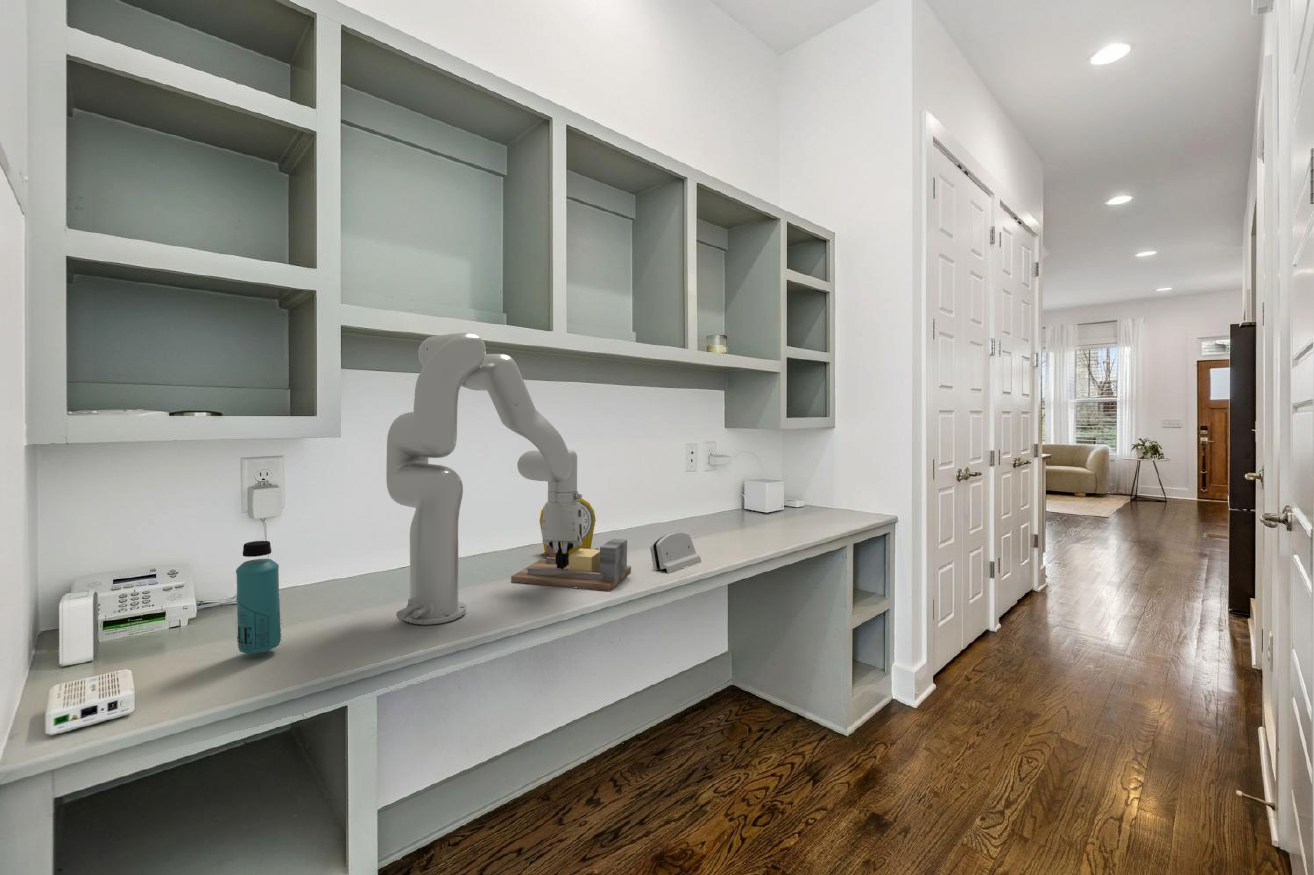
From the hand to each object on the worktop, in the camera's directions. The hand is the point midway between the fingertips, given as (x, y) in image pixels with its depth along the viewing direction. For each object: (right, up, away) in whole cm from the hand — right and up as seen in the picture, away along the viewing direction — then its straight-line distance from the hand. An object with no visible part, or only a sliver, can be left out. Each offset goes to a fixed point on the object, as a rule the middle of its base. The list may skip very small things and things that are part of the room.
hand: (562, 567), depth 156 cm
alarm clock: (-2, -1, +24) cm, 24 cm away
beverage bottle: (-45, -4, -52) cm, 68 cm away
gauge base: (+3, -2, -1) cm, 4 cm away
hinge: (+30, -3, +12) cm, 32 cm away
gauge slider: (+7, -1, +1) cm, 7 cm away
